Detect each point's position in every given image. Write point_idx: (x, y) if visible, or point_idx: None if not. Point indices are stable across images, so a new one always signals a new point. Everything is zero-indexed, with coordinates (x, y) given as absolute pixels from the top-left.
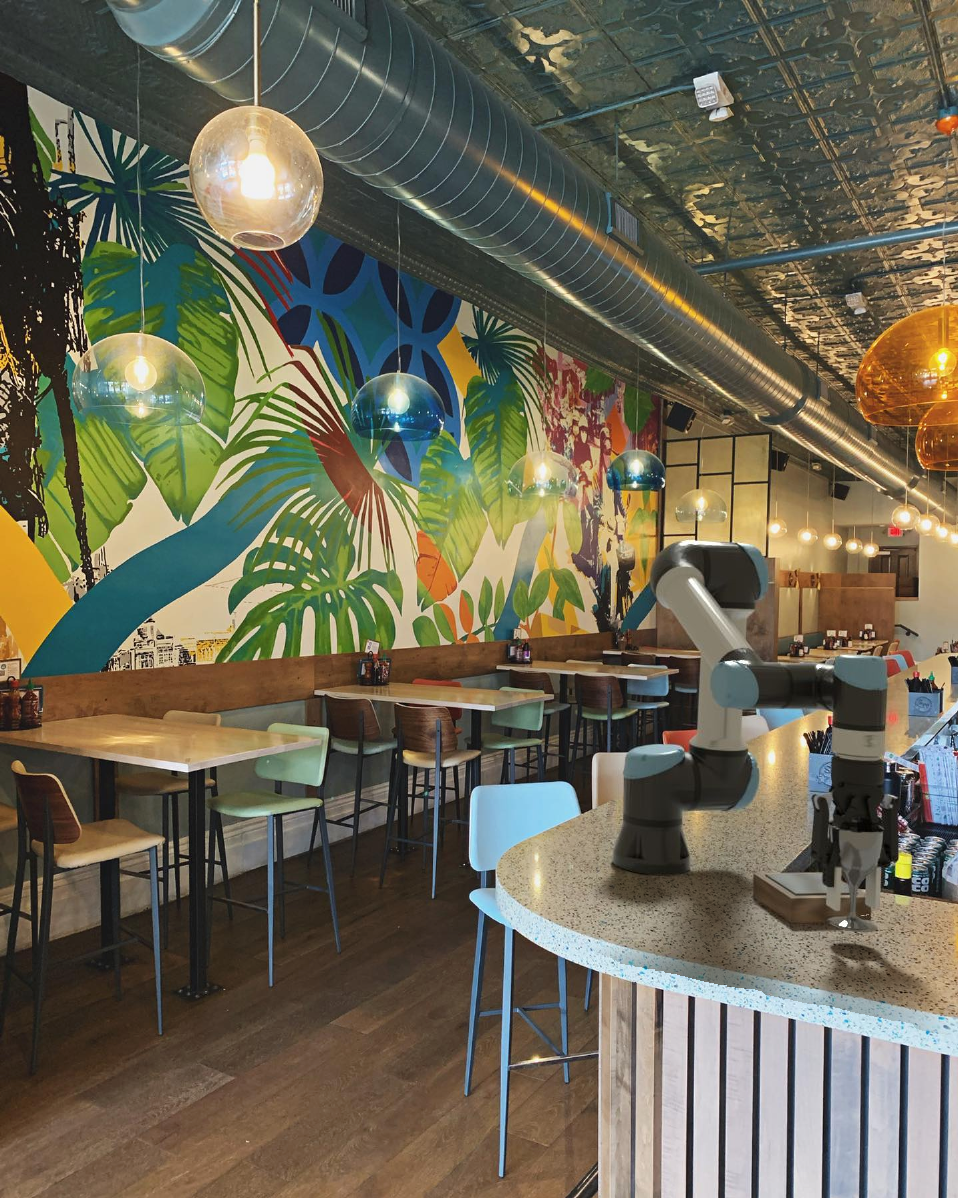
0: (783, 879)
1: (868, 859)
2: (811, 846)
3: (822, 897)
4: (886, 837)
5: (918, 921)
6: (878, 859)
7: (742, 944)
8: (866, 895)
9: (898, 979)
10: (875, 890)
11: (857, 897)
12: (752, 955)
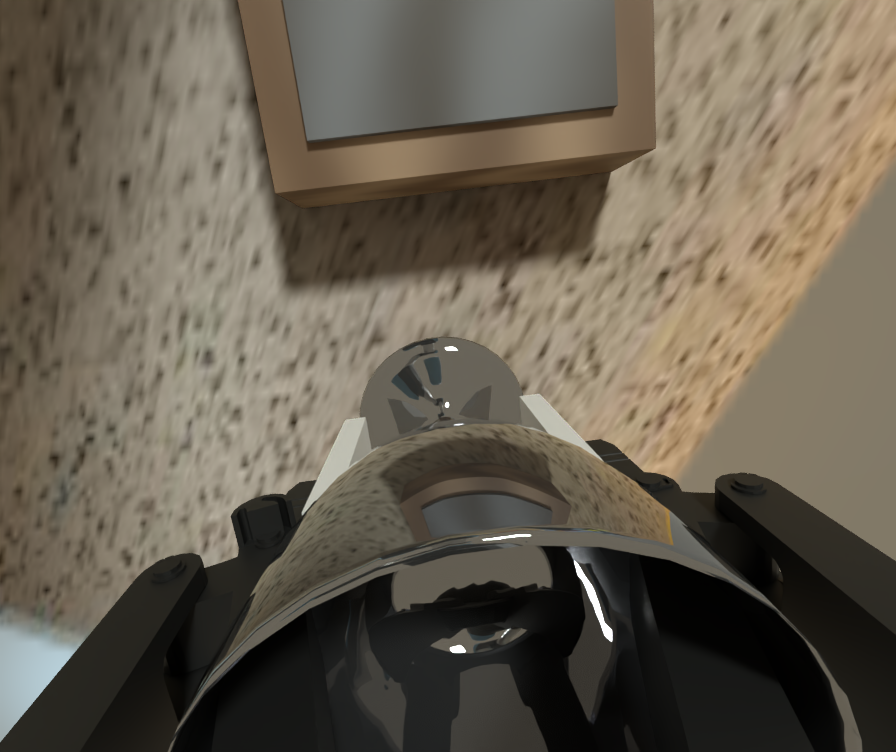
0: None
1: (494, 742)
2: (101, 627)
3: (427, 167)
4: (828, 656)
5: (789, 155)
6: (583, 691)
7: (82, 425)
8: (528, 417)
9: None
10: None
11: (590, 155)
12: (99, 508)
